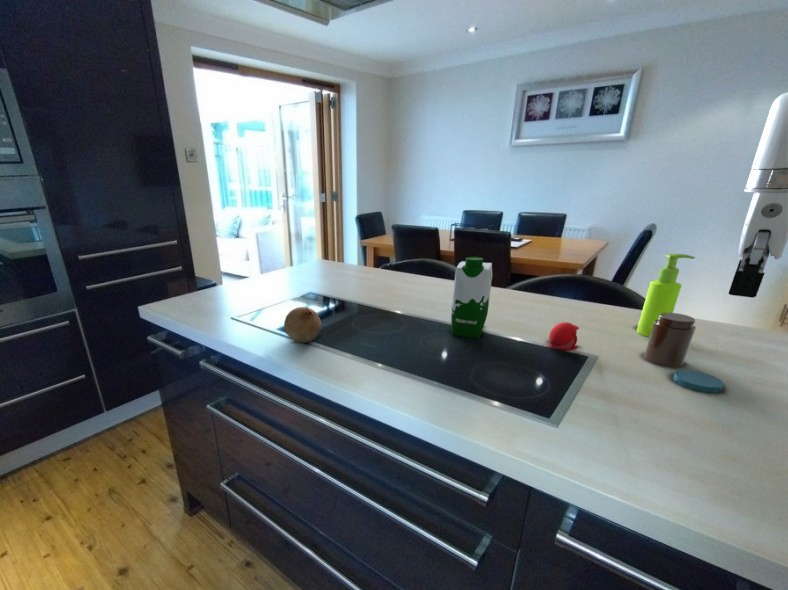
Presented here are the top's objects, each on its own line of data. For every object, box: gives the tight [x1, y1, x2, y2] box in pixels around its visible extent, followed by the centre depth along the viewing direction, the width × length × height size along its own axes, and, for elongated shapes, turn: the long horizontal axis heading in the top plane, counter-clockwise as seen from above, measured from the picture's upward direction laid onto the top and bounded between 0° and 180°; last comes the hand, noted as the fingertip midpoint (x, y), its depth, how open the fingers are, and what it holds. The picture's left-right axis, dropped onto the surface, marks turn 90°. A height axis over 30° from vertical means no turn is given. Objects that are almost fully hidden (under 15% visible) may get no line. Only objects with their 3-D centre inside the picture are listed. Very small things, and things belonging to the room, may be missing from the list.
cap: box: [548, 321, 580, 352], centre depth 91 cm, size 8×6×6 cm
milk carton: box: [450, 256, 493, 339], centre depth 99 cm, size 9×9×20 cm
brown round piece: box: [283, 306, 322, 344], centre depth 100 cm, size 10×9×10 cm
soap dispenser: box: [636, 253, 696, 338], centre depth 95 cm, size 6×7×20 cm
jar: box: [643, 312, 696, 368], centre depth 81 cm, size 7×7×11 cm
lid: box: [672, 369, 724, 394], centre depth 74 cm, size 7×7×2 cm
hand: (743, 289), depth 66 cm, fingers open, 9 cm apart
